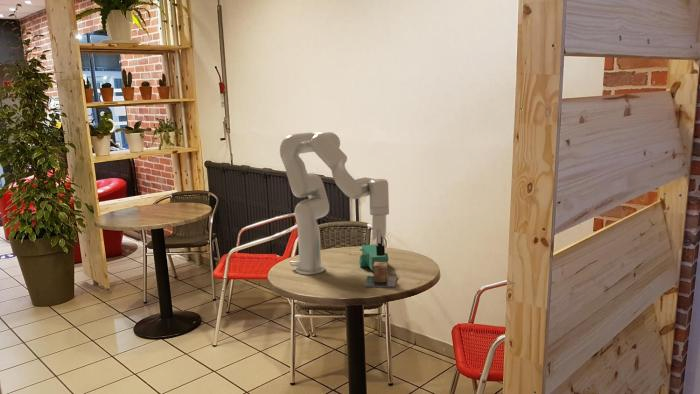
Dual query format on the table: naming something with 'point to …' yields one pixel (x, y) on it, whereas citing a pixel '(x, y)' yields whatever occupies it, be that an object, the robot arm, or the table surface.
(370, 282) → the grey base plate
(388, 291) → the table surface
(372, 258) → the toy
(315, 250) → the robot arm
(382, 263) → the tan cardboard carton
